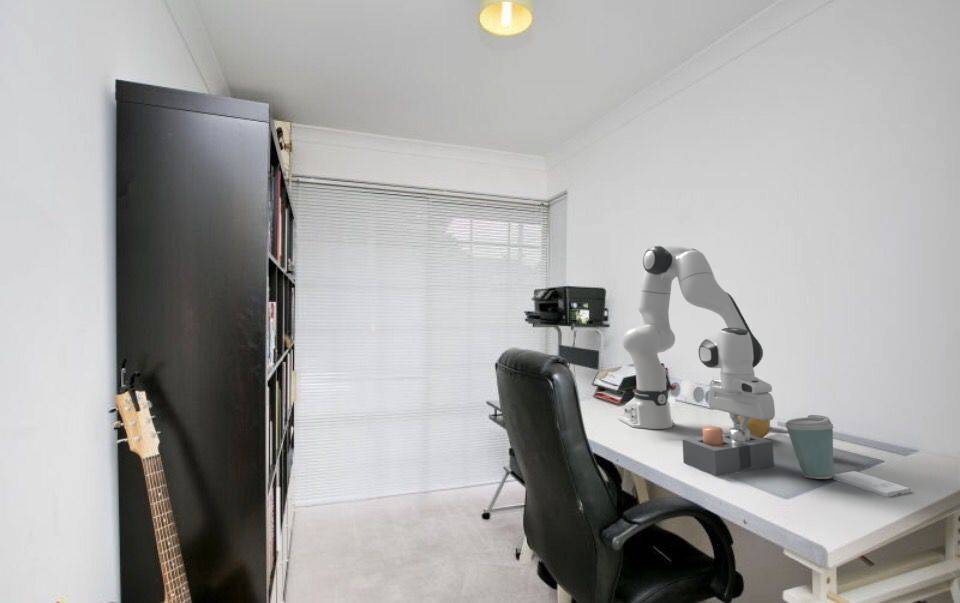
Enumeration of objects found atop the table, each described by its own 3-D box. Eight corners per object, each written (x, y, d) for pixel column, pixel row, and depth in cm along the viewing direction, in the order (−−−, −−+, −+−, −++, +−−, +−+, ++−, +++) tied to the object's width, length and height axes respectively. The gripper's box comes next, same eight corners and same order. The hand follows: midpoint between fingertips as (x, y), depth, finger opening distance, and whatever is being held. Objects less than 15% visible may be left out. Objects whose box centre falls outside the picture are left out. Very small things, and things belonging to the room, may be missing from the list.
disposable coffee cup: (804, 482, 115) (794, 422, 117) (786, 471, 126) (777, 416, 127) (851, 481, 113) (840, 420, 115) (829, 469, 123) (819, 414, 125)
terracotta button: (699, 451, 131) (698, 427, 131) (713, 449, 133) (712, 425, 133) (713, 456, 126) (712, 431, 126) (728, 454, 128) (726, 429, 128)
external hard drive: (855, 476, 120) (911, 494, 108) (833, 480, 118) (887, 499, 106) (855, 470, 120) (911, 487, 108) (832, 474, 118) (886, 492, 106)
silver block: (726, 451, 134) (725, 428, 134) (739, 449, 136) (738, 426, 136) (741, 457, 129) (740, 432, 129) (755, 454, 131) (753, 430, 131)
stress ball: (733, 441, 156) (742, 428, 148) (731, 415, 162) (739, 402, 154) (765, 447, 153) (776, 434, 146) (762, 421, 159) (772, 407, 151)
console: (683, 462, 134) (682, 439, 134) (738, 453, 140) (737, 431, 140) (715, 476, 122) (714, 450, 122) (773, 465, 128) (772, 441, 129)
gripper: (702, 379, 142) (704, 423, 142) (760, 388, 122) (763, 439, 122) (717, 377, 144) (720, 420, 143) (777, 386, 124) (780, 436, 124)
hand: (740, 429), depth 133 cm, fingers closed
